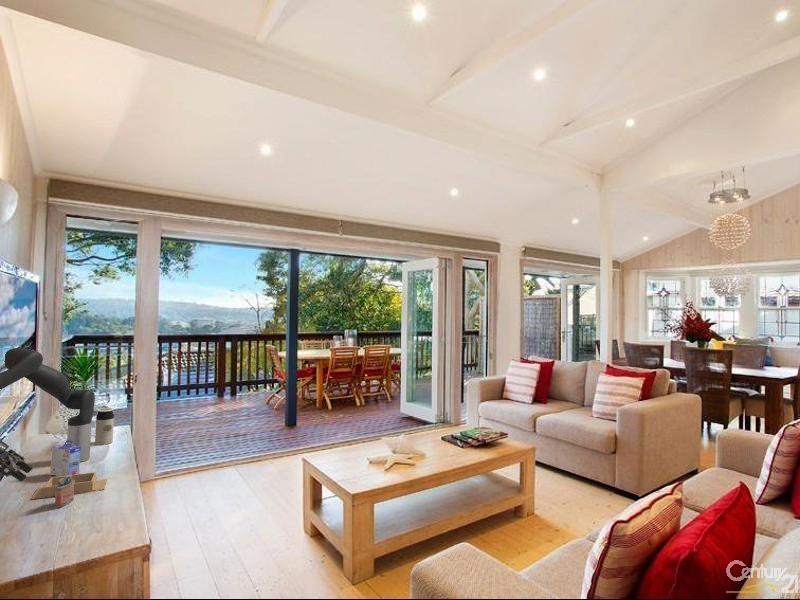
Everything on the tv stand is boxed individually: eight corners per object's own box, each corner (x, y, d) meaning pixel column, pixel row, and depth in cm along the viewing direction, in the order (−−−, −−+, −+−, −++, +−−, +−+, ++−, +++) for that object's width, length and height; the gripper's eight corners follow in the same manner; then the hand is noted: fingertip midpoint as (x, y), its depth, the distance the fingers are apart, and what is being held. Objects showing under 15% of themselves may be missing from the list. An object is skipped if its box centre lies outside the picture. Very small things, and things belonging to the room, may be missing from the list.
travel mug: (93, 442, 239) (95, 408, 239) (111, 440, 244) (112, 407, 245) (96, 446, 233) (98, 411, 233) (114, 443, 238) (115, 409, 239)
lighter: (67, 499, 169) (68, 473, 170) (76, 499, 170) (77, 473, 170) (51, 508, 161) (52, 481, 162) (61, 508, 162) (62, 481, 162)
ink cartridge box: (80, 473, 195) (81, 440, 195) (68, 478, 190) (70, 444, 190) (61, 471, 197) (63, 438, 197) (49, 475, 192) (51, 442, 192)
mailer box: (40, 485, 181) (41, 475, 182) (108, 476, 192) (108, 467, 193) (31, 499, 168) (31, 489, 168) (104, 489, 179) (104, 479, 179)
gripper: (-10, 444, 151) (32, 473, 156) (3, 433, 163) (41, 460, 169) (-31, 462, 148) (11, 490, 154) (-17, 449, 161) (22, 476, 166)
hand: (27, 474), depth 161 cm, fingers open, 8 cm apart
